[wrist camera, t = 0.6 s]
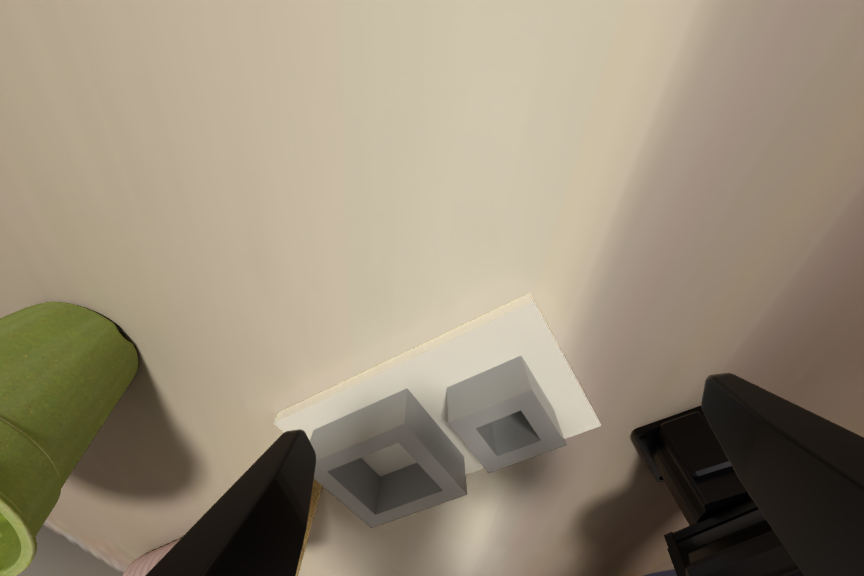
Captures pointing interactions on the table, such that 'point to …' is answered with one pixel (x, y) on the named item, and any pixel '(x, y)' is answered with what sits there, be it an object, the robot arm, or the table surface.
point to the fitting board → (443, 414)
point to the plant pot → (51, 410)
